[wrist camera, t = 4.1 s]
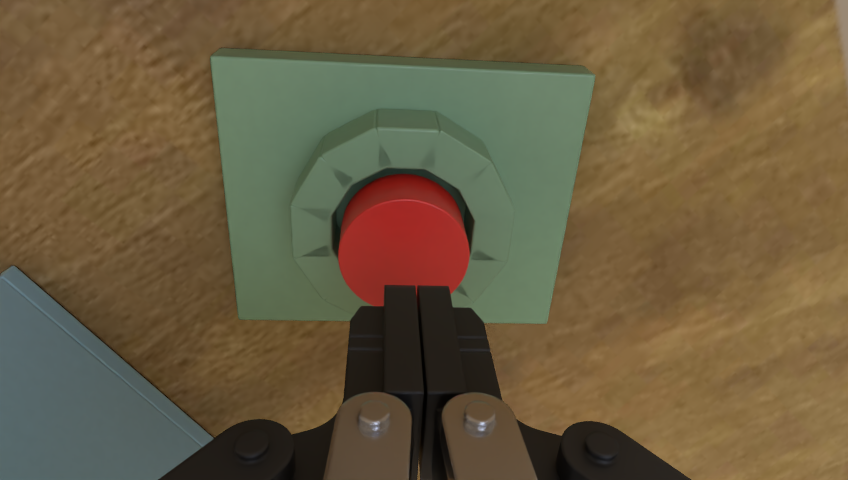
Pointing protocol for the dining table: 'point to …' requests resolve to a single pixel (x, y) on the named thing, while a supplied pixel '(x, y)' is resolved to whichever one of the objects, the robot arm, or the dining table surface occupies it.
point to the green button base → (394, 169)
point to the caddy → (78, 400)
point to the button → (402, 237)
